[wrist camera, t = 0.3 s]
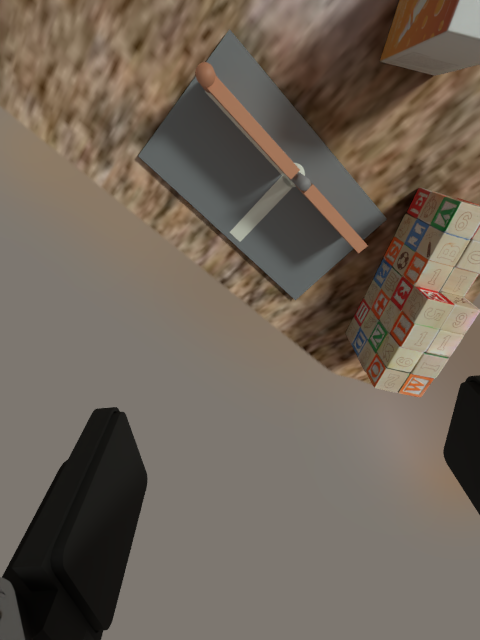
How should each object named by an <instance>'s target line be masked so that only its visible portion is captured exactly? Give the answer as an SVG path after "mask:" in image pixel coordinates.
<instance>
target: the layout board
mask: <svg viewBox="0 0 480 640" xmlns="http://www.w3.org/2000/svg"><path fill="white" fill-rule="evenodd" d="M206 62H207V63H209V64H211V66H212V67H213V69H214V71H215V74H216V76H217V77H218V78H219V80H220V81H221V82H222V83H223V84H224V85H225V86H226V87H227V89H228V90H229V91H230V92H231V93H232V94H233V95H234V96H235V98H236V99H237V100H238V101H239V102H240V103H241V104H242V105H243V106H244V108H245V109H246V110H247V111H248V112H249V113H250V114H251V115H252V117H253V118H254V119H255V120H256V121H257V122H258V123H259V124H260V126H261V127H262V128H263V129H264V130H265V131H266V132H267V133H268V135H269V136H270V137H271V138H272V139H273V140H274V141H275V142H276V143H277V145H278V146H279V147H280V148H281V149H282V150H283V151H284V152H285V154H286V155H287V156H288V157H289V158H290V159H291V160H292V161H293V163H294V164H295V165H296V166H297V167H298V168H299V169H300V171H299V172H300V173H301V174H303V175H304V176H306V177H307V178H309V179H310V181H311V183H312V184H313V185H314V186H315V187H316V188H317V189H318V190H319V191H320V192H321V194H322V195H323V196H324V197H325V198H326V199H327V200H328V201H329V203H330V204H331V205H332V206H333V207H334V208H335V209H336V210H337V212H338V213H339V214H340V215H341V216H342V217H343V218H344V219H345V221H346V222H347V223H348V224H349V225H350V226H351V227H352V228H353V230H354V231H355V232H356V233H357V234H358V235H359V236H360V237H361V238H362V240H364V239H365V238H366V237H367V236H368V235H370V234H371V233H372V232H373V231H374V230H375V229H376V228H377V227H379V226H380V225H381V224H382V223H383V222H384V221H385V220H387V219H386V217H385V216H384V215H383V214H382V213H381V211H380V210H379V209H378V208H377V206H376V205H375V204H374V203H373V202H372V200H371V199H370V198H369V197H368V196H367V194H366V193H365V192H364V191H363V190H362V188H361V187H360V186H359V185H358V184H357V182H356V181H355V180H354V179H353V178H352V176H351V175H350V174H349V173H348V172H347V170H346V169H345V168H344V167H343V165H342V164H341V163H340V162H339V161H338V159H337V158H336V157H335V156H334V155H333V153H332V152H331V151H330V150H329V149H328V147H327V146H326V145H325V144H324V143H323V141H322V140H321V139H320V138H319V137H318V135H317V134H316V133H315V132H314V131H313V129H312V128H311V127H310V126H309V125H308V123H307V122H306V121H305V120H304V118H303V117H302V116H301V115H300V114H299V112H298V111H297V110H296V109H295V108H294V106H293V105H292V104H291V103H290V102H289V100H288V99H287V98H286V97H285V96H284V94H283V93H282V92H281V91H280V90H279V88H278V87H277V86H276V85H275V84H274V82H273V81H272V80H271V79H270V77H269V76H268V75H267V74H266V73H265V71H264V70H263V69H262V68H261V67H260V65H259V64H258V63H257V62H256V61H255V59H254V58H253V57H252V56H251V55H250V53H249V52H248V51H247V50H246V49H245V47H244V46H243V45H242V44H241V43H240V41H239V40H238V39H237V38H236V37H235V35H234V34H233V33H232V32H231V30H229V31H228V32H227V34H226V35H225V36H224V38H223V39H222V41H221V42H220V43H219V45H218V46H217V48H216V49H215V50H214V52H213V53H212V54H211V56H210V57H209V59H208V60H207V61H206ZM138 156H139V157H140V158H141V159H142V160H143V161H144V162H145V163H146V164H147V165H148V166H150V167H151V168H152V169H153V170H154V171H155V172H156V173H157V174H158V175H159V176H160V177H162V178H163V179H164V180H165V181H166V182H167V183H168V184H169V185H170V186H171V187H172V188H174V189H175V190H176V191H177V192H178V193H179V194H180V195H181V196H182V197H183V198H184V199H186V200H187V201H188V202H189V203H190V204H191V205H192V206H193V207H194V208H195V209H196V210H198V211H199V212H200V213H201V214H202V215H203V216H204V217H205V218H206V219H207V220H208V221H210V222H211V223H212V224H213V225H214V226H215V227H216V228H217V229H218V230H219V231H220V232H222V233H223V234H224V235H225V236H226V237H227V238H228V239H229V240H230V241H231V242H232V243H234V244H235V245H236V246H237V247H238V248H239V249H240V250H241V251H242V252H243V253H244V254H246V255H247V256H248V257H249V258H250V259H251V260H252V261H253V262H254V263H255V264H256V265H258V266H259V267H260V268H261V269H262V270H263V271H264V272H265V273H266V274H267V275H268V276H270V277H271V278H272V279H273V280H274V281H275V282H276V283H277V284H278V285H279V286H280V287H282V288H283V289H284V290H285V291H286V292H287V293H288V294H289V295H290V296H291V297H292V298H294V299H295V300H296V299H297V298H298V297H300V296H301V295H302V294H303V293H304V292H305V291H306V290H307V289H309V288H310V287H311V286H312V285H313V284H314V283H315V282H316V281H318V280H319V279H320V278H321V277H322V276H323V275H324V274H326V273H327V272H328V271H329V270H330V269H331V268H332V267H333V266H335V265H336V264H337V263H338V262H339V261H340V260H341V259H342V258H344V257H345V256H346V255H347V254H348V253H349V252H350V251H351V250H353V249H354V248H353V247H352V246H351V245H350V244H349V243H348V242H347V241H346V240H345V239H344V238H343V237H342V236H341V235H340V234H339V233H338V232H337V230H336V229H335V228H334V227H333V226H332V225H331V224H330V223H329V222H328V221H327V220H326V218H325V217H324V216H323V215H322V214H321V213H320V212H319V211H318V210H317V209H316V208H315V206H314V205H313V204H312V203H311V202H310V201H309V200H308V199H307V198H306V197H305V196H304V194H303V193H302V192H301V191H300V190H299V189H298V188H297V187H296V186H295V184H294V183H293V182H292V181H291V180H290V179H289V178H288V176H286V175H285V174H284V173H283V172H282V171H281V170H280V168H279V167H278V166H277V165H276V164H275V163H274V162H273V161H272V160H271V159H270V158H269V156H268V155H267V154H266V153H265V152H264V151H263V150H262V149H261V148H260V147H259V146H258V144H257V143H256V142H255V141H254V140H253V139H252V138H251V137H250V136H249V135H248V134H247V132H246V131H245V130H244V129H243V128H242V127H241V126H240V125H239V124H238V123H237V122H236V120H235V119H234V118H233V117H232V116H231V115H230V114H229V113H228V112H227V111H226V110H225V109H224V107H223V106H222V105H221V104H220V103H219V102H218V101H217V100H216V99H215V98H214V97H213V95H212V94H211V93H208V92H206V91H205V90H204V88H203V87H202V86H201V85H200V83H199V82H198V81H197V79H196V77H195V78H194V79H193V81H192V82H191V83H190V85H189V86H188V88H187V89H186V90H185V92H184V93H183V95H182V96H181V97H180V99H179V100H178V101H177V103H176V104H175V106H174V107H173V108H172V110H171V111H170V113H169V114H168V115H167V117H166V118H165V119H164V121H163V122H162V124H161V125H160V126H159V128H158V129H157V130H156V132H155V133H154V135H153V136H152V137H151V139H150V140H149V142H148V143H147V144H146V146H145V147H144V148H143V150H142V151H141V153H140V154H139V155H138Z"/></svg>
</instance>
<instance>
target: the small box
mask: <svg viewBox="0 0 480 640" xmlns="http://www.w3.org/2000/svg"><path fill="white" fill-rule="evenodd" d="M380 62H383V63H387V64H391V65H395V66H399V67H403V68H407V69H411V70H415V71H419V72H423V73H427V74H430V75H440V74H444V73H448V72H452V71H456V70H460V69H464V68H467V67H471V66H475V65H479V64H480V0H399V3H398V6H397V9H396V13H395V16H394V19H393V22H392V25H391V28H390V31H389V34H388V37H387V41H386V44H385V47H384V50H383V53H382V56H381V59H380Z"/></svg>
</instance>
